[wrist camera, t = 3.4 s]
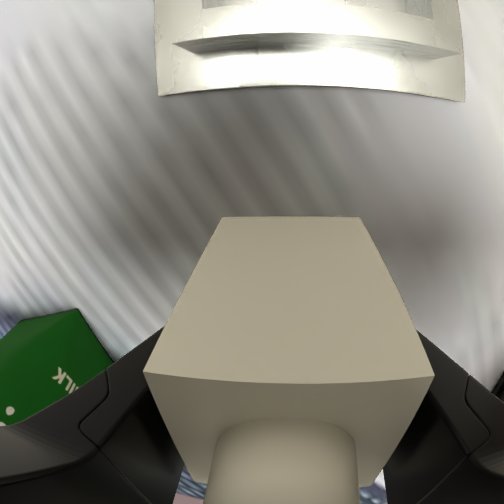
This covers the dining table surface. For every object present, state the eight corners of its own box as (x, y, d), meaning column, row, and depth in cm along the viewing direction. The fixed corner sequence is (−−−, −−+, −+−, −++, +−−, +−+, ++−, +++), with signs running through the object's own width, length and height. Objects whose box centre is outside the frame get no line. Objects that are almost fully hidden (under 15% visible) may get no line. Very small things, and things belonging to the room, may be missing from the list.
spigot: (346, 326, 11) (374, 560, 4) (232, 324, 11) (176, 554, 4) (359, 217, 9) (473, 503, 2) (222, 217, 9) (87, 494, 2)
